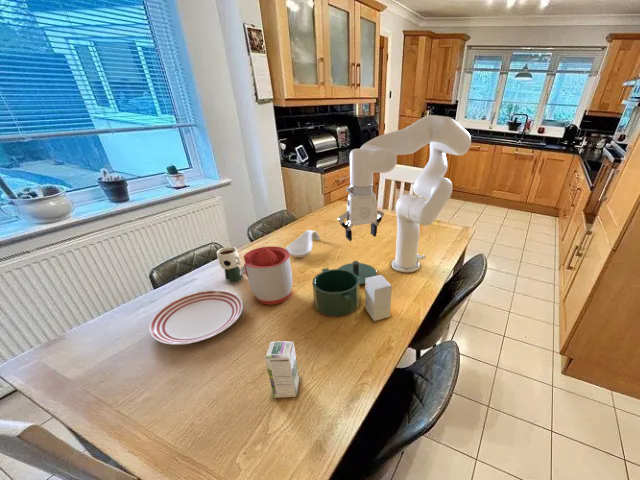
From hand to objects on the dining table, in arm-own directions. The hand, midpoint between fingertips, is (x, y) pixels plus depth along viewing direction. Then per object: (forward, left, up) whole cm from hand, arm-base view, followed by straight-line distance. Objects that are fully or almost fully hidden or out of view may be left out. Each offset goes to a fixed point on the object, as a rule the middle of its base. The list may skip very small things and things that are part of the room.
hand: (361, 237), depth 111 cm
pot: (+13, +5, -21) cm, 26 cm away
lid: (-2, -9, -21) cm, 22 cm away
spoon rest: (+9, -42, -21) cm, 48 cm away
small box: (+3, +18, -21) cm, 28 cm away
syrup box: (+40, +34, -21) cm, 57 cm away
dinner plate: (+57, -7, -21) cm, 61 cm away
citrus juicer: (+33, -10, -21) cm, 41 cm away
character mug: (+43, -29, -21) cm, 56 cm away
